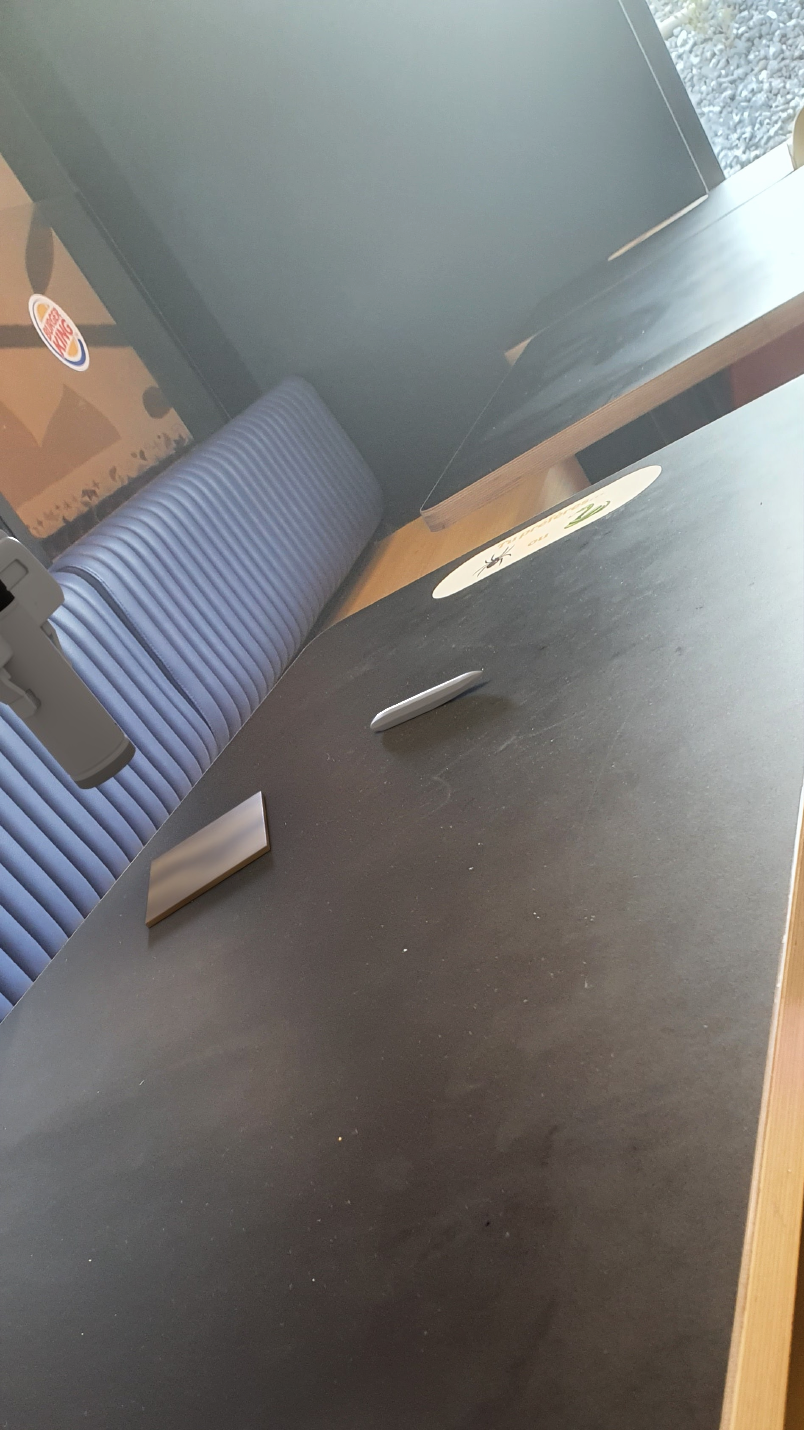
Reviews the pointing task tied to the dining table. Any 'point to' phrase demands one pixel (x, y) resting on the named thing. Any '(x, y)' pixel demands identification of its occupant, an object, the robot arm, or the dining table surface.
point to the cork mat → (207, 858)
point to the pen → (424, 701)
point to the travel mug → (61, 702)
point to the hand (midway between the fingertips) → (49, 693)
